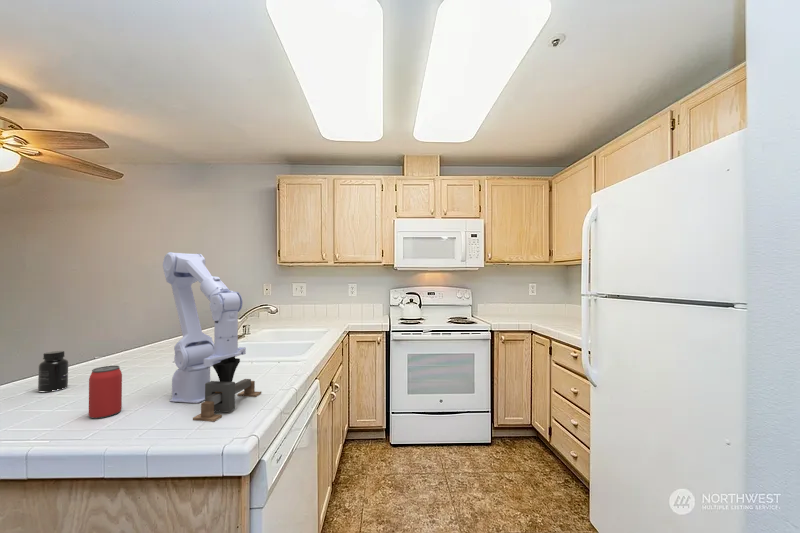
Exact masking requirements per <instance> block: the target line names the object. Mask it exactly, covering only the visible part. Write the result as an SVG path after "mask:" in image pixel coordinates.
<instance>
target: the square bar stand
mask: <svg viewBox="0 0 800 533" xmlns="http://www.w3.org/2000/svg"><path fill="white" fill-rule="evenodd" d="M255 383H256V382H255V380H252V379H251V378H243V379H242V380H239V381H238V382H235V395H237V397H248V398H256V397H259V396H260V395H262V391H255V390H256V388H255ZM221 401H222V392H215V393H214V394H212V395H210V396H208V397H206V401H205V400H204V401H202V402H200V413H199V414H197V415H195V416H193V417H192V421H199V422H201V421H202V422H216V421H218V420H220V419H221V418H222V417H223V414H217V413H216V414H215V411H214V405H215V404H217V403H219V402H221Z"/></svg>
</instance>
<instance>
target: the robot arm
mask: <svg viewBox="0 0 800 533" xmlns="http://www.w3.org/2000/svg"><path fill="white" fill-rule="evenodd" d="M162 269H163V274H164V278H165V281H166V283H168V284H170V285H171V289H172V294H173V295H172V296H173V298H174V302H175V303H174V304H175V308H176V312H177V317H178V321H179V325H180V331H181V335H182V338H180V339H179V340H178V342H177V343H176V344H175V345H174V348H173V349H174V364H175V366H176V367H177V368H178V369H176V370H175V371H174V373H173V375H172V378H171V399H169V402H174V403H189V404H190V403H192V404H193V403H194V404H200V403H202V402H205V384H206V383H208V382H210V381H211V367H212V368H213V369H214V371H215V373H216V374H217V376H218V381H224V382H233V380H234V375H235V373H236V370H237V368H238V366H239V365H240V362H241V358H236V357H239V356H243V355H246V353H247V352H246V351H247V350H246V347H243V346H242V347H241V346H239V343H238V342H239V340H238V339H239V338H238V337H239V335H238V334H239V314H238V313H239V312H241V310H242V307H243V297H242V295H241V294H240V292H239V291H234V290H230V289H229V287H228V286H227V285H226V284H225V283H224V281H222V280H221V278H220V276H213V275H212V274H211V272H210V271H209V269H208V268H207V266H206V258H205V257H204V255H203V254H201V253H186V252H185V253H184V252H173V251H169V252H167V253H166V254H165V256H164V257H163V262H162ZM196 282H197V283H200V286H199V288H200V292H202V294H203V295H204V296H205V297H206V299H208V301H209V309H210V311H211V318H212V321H214V322H213V323H214V334H213V335H214V337H212V336H210V335H208V334H206V333H204V331H203V330H202V327H201V326H202V324H201V321H200V318H199V313H198V310H197V309H198V308H197V304H196V301H195V297H194V292H193V287H192V285H193V284H194V283H196ZM213 338H214V340H213Z"/></svg>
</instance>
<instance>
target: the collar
mask: <svg viewBox="0 0 800 533" xmlns="http://www.w3.org/2000/svg"><path fill="white" fill-rule="evenodd" d="M235 383H236V382H235V381H232V382H224V381H219V380H210V382H208V383H206V384H205V400H204V402H205V401H206V397H208V396H210V395H212V394H214V393H215V392H222V401H221V402H219V403H217V404H215V405H214V412H220V413H221V412H222V413H224V412H225V413H230V412H232V411H233V410H235V409H236V394H235Z"/></svg>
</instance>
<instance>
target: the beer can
mask: <svg viewBox="0 0 800 533" xmlns="http://www.w3.org/2000/svg"><path fill="white" fill-rule="evenodd" d="M122 394H123V372H122V370H121V369H120V365H105V366H99V367H96V368H93V369H91V374H90V375H89V379H88V417H89V418H91V419H102V418H101V417H104V418H108V417H107V416H109V417H112V416H114V414H115V415H116V414H118V413H120V412H121V411H122V407H123V406H122V403H123V402H122V401H123V399H122V397H123V395H122ZM111 415H112V416H111Z"/></svg>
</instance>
